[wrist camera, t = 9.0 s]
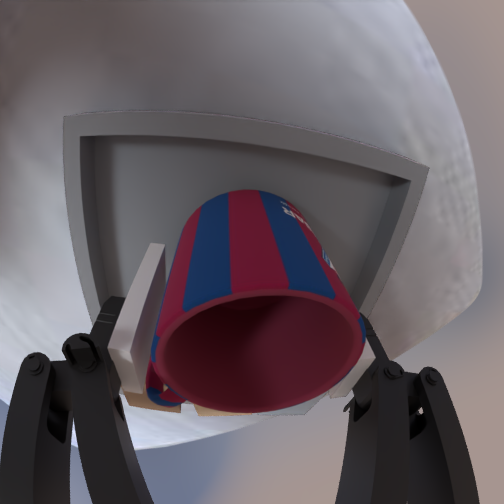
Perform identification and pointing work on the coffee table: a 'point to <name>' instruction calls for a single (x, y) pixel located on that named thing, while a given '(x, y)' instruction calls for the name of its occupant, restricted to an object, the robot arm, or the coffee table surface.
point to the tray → (225, 180)
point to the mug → (251, 311)
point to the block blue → (296, 408)
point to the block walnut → (147, 400)
